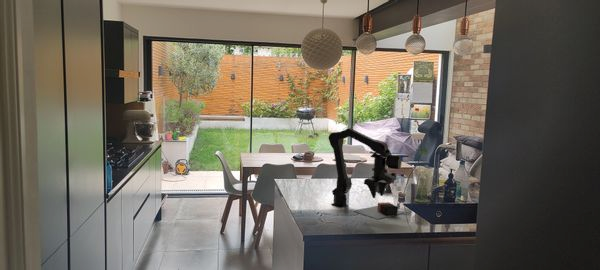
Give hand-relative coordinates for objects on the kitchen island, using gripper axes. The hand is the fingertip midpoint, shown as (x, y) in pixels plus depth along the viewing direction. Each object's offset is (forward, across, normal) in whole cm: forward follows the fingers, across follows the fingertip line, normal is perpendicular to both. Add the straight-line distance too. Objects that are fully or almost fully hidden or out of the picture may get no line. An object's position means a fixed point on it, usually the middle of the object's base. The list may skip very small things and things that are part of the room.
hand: (377, 196), depth 219 cm
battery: (+6, -1, -9) cm, 11 cm away
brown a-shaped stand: (+8, +44, +22) cm, 49 cm away
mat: (+8, 0, -1) cm, 8 cm away
